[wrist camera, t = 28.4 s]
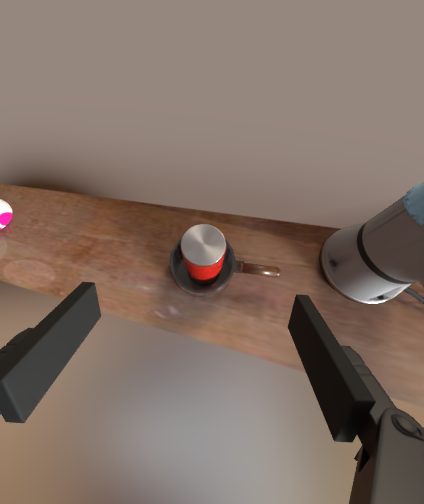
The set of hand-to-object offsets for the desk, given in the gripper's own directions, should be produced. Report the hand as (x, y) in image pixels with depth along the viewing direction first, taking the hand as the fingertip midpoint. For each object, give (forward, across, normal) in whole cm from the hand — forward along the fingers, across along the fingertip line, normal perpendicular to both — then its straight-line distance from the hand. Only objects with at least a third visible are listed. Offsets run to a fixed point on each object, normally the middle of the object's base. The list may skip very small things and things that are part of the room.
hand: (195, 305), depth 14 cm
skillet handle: (+23, +9, -10) cm, 26 cm away
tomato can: (+25, 0, -11) cm, 27 cm away
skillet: (+25, -1, -11) cm, 28 cm away
